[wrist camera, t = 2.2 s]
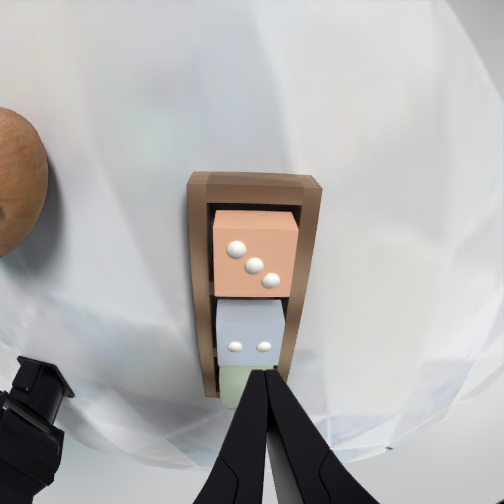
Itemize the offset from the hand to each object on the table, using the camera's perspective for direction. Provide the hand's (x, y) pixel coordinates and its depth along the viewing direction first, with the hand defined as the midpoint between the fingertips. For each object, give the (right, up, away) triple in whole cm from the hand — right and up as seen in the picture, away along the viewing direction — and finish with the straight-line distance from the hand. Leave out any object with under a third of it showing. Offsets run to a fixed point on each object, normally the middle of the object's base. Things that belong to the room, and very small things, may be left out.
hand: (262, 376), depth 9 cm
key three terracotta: (0, +4, +8) cm, 9 cm away
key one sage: (-1, -6, +14) cm, 15 cm away
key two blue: (-1, -1, +11) cm, 11 cm away
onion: (-17, +10, +6) cm, 21 cm away
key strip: (-1, 0, +13) cm, 13 cm away
